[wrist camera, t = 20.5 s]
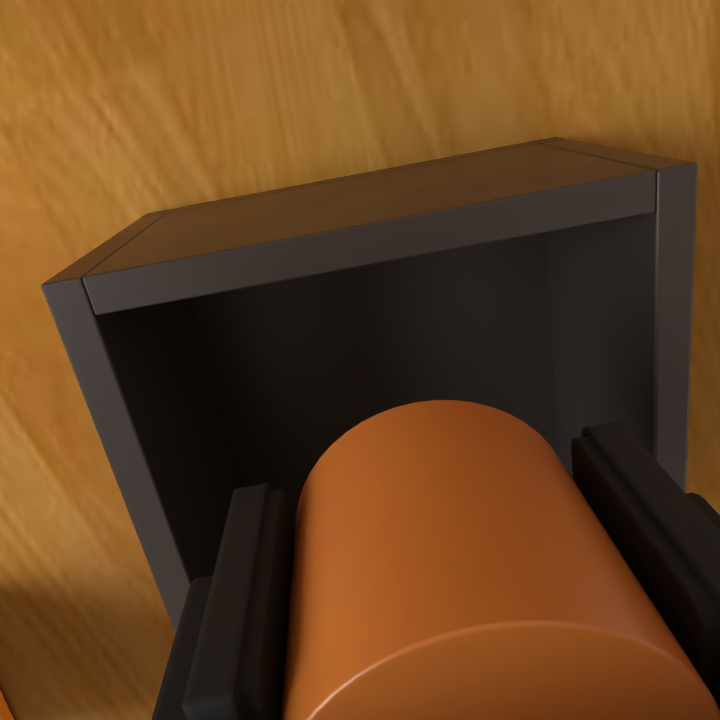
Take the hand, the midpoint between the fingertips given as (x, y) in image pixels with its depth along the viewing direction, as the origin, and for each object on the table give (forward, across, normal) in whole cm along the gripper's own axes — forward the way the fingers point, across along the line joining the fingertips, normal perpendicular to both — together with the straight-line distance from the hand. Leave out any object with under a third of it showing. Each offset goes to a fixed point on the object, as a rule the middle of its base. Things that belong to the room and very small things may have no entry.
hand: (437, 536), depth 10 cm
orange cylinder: (0, 0, 0) cm, 0 cm away
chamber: (+11, 0, +3) cm, 12 cm away
